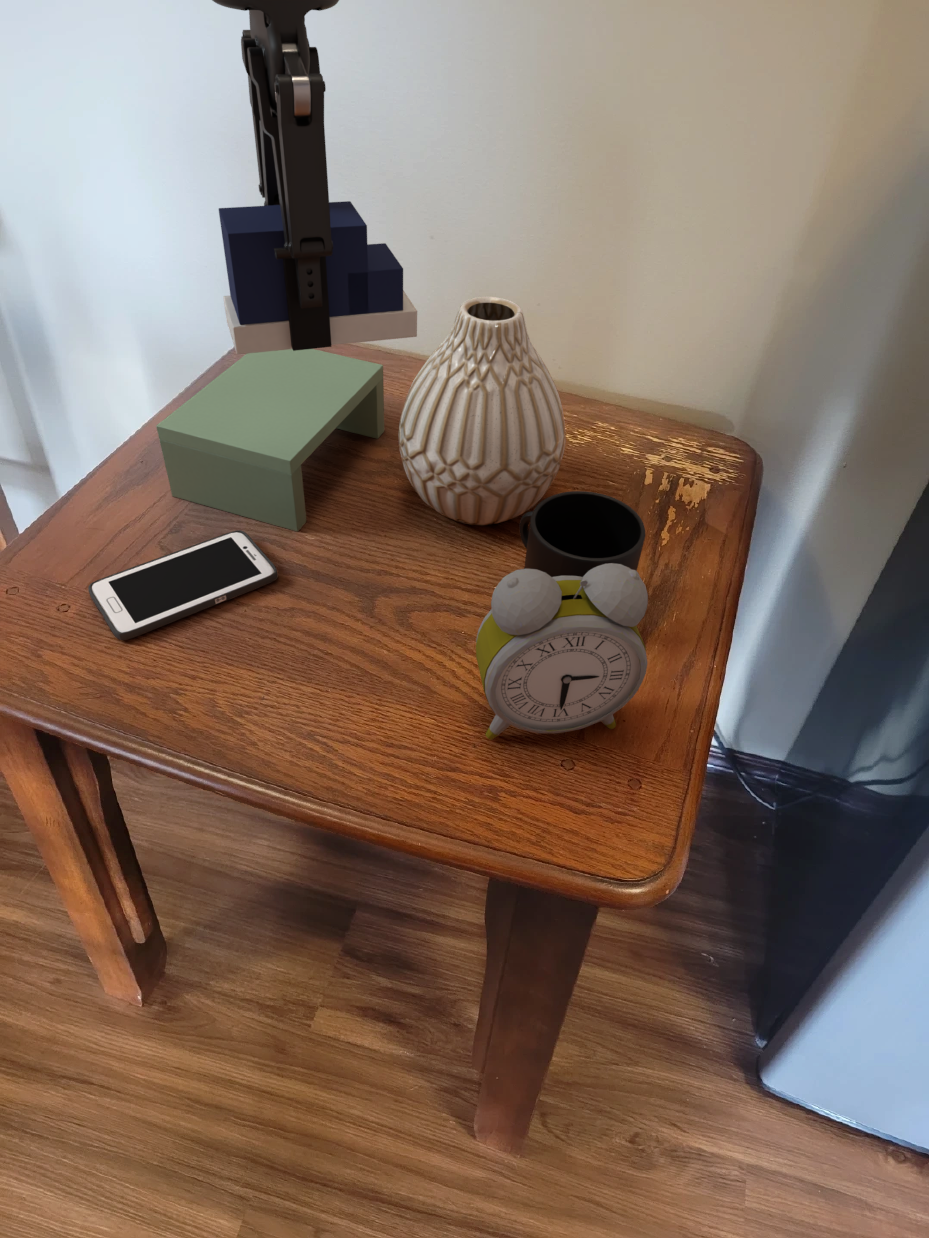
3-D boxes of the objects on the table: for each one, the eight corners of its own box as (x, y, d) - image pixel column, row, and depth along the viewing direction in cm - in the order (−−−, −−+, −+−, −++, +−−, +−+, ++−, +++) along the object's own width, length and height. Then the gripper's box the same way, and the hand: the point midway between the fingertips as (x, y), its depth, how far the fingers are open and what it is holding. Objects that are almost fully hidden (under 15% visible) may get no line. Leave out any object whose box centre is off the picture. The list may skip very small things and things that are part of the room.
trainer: (236, 355, 59) (220, 235, 53) (226, 322, 62) (210, 207, 57) (417, 337, 62) (419, 223, 57) (398, 307, 66) (398, 197, 60)
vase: (419, 447, 93) (422, 262, 79) (563, 469, 91) (592, 284, 77) (380, 534, 81) (375, 336, 68) (544, 561, 80) (574, 364, 66)
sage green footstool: (172, 496, 84) (155, 425, 79) (273, 403, 98) (265, 338, 92) (297, 532, 81) (290, 461, 76) (384, 431, 95) (383, 364, 89)
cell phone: (86, 592, 73) (83, 584, 73) (243, 535, 80) (242, 527, 79) (119, 645, 69) (116, 637, 68) (282, 580, 76) (281, 572, 75)
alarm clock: (479, 756, 63) (494, 608, 53) (465, 687, 68) (476, 539, 57) (629, 742, 65) (673, 596, 54) (606, 676, 69) (641, 530, 59)
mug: (551, 544, 82) (563, 464, 75) (647, 610, 75) (669, 529, 69) (478, 584, 77) (485, 503, 71) (575, 659, 71) (592, 577, 64)
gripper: (377, -63, 41) (385, 382, 57) (304, -100, 53) (327, 274, 69) (217, -67, 39) (272, 395, 55) (179, -104, 51) (233, 282, 67)
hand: (303, 327), depth 62 cm, fingers closed on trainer, 5 cm apart
